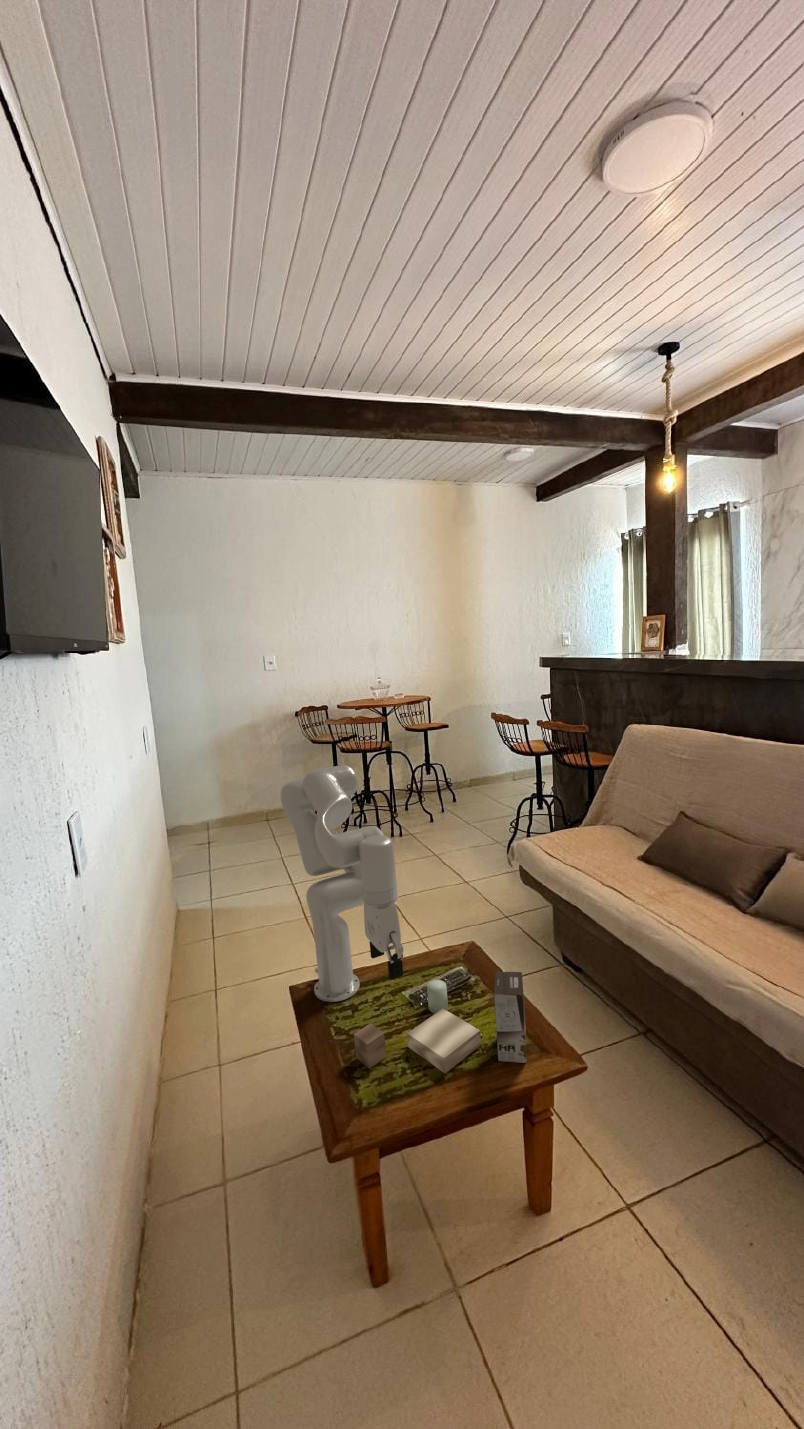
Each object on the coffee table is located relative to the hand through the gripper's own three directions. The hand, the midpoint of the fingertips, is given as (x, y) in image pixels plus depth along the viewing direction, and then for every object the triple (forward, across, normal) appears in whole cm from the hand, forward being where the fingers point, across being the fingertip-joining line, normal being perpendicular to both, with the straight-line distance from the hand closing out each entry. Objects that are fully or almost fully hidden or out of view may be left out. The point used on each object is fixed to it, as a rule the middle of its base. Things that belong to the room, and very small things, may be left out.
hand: (386, 966), depth 124 cm
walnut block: (+23, -4, -4) cm, 24 cm away
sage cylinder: (+23, -11, +18) cm, 31 cm away
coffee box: (+23, +11, +25) cm, 36 cm away
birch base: (+23, +2, +12) cm, 26 cm away
